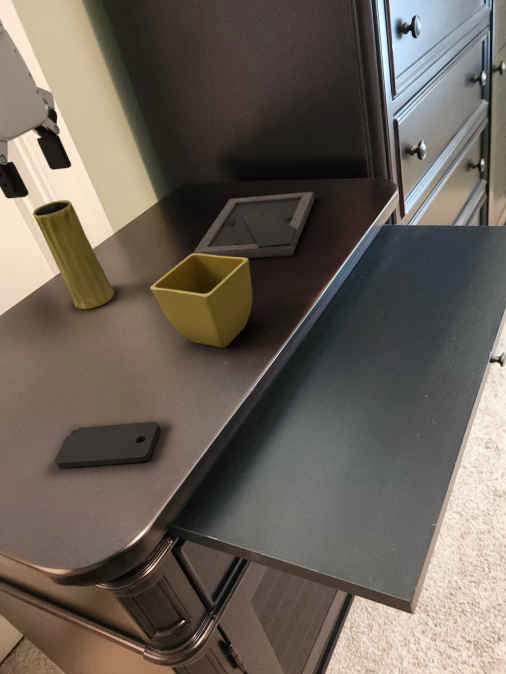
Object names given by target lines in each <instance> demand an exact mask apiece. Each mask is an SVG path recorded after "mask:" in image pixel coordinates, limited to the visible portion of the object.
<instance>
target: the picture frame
mask: <svg viewBox="0 0 506 674" xmlns="http://www.w3.org/2000/svg"><path fill="white" fill-rule="evenodd" d="M314 203H315V196H314V191H306V192H305V191H304V192H294V193H283V194H273V195H272V194H271V195H261V196H249V197H239V198H229V199H228V201H227V202H226V204H225V205H224V206H223V209H222V210H221V211H220V213H219V214H218V215H217V217H216V219H215V220H214V221H213V223H212V224H211V226H210V228H208V230H207V232H206V233H205V235H204V236H203V237H202V238H201V241H200V242H199V244H198V245H197V247H196V248H195V249H194V250H193V253H200V254H209V255H216V256H229V257H242V258H248V259H256V258H272V257H274V258H275V257H288V256H293V255H294V252H295V251H296V247H297V245H298V243H299V240H300V236H301V235H302V232H303V230H304V227H305V224H306V222H307V219H308V217H309V215H310V212H311V210H312V207H313V204H314Z"/></svg>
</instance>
